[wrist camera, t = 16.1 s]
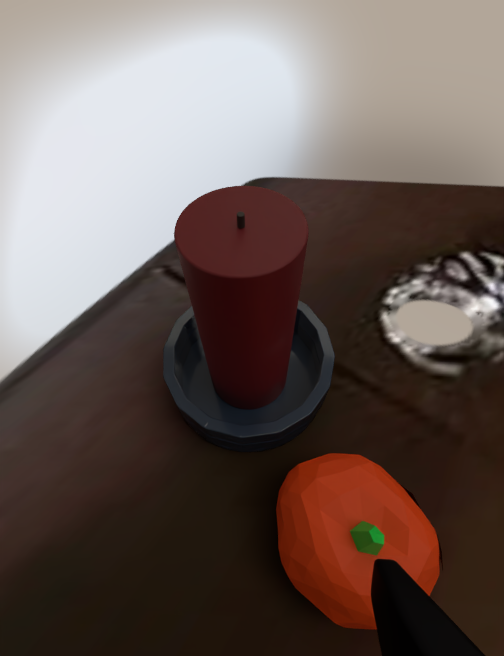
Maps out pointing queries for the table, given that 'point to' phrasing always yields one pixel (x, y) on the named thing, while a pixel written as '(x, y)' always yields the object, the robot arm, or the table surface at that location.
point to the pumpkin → (350, 534)
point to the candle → (244, 286)
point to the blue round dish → (249, 424)
